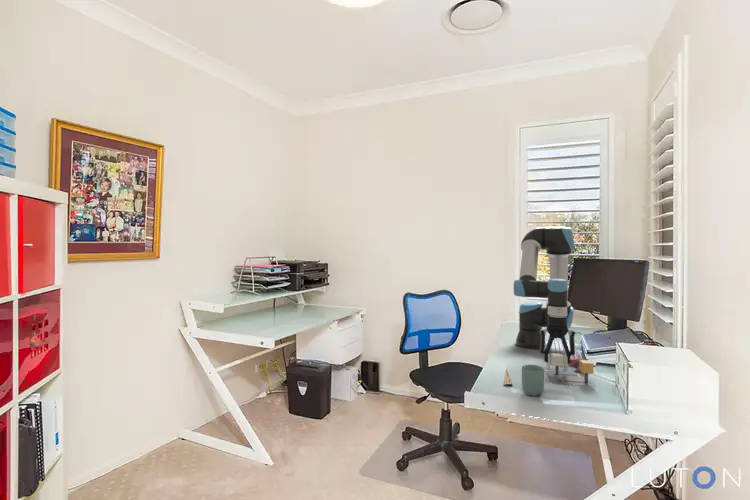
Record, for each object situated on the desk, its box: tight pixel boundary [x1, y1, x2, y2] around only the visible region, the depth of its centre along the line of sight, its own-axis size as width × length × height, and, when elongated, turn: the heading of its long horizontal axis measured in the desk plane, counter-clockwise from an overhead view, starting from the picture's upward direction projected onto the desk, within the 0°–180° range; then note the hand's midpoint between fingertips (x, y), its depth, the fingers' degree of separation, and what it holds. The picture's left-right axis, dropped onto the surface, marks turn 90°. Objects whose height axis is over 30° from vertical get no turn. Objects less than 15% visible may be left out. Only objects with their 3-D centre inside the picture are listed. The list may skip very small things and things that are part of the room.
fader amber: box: [579, 359, 595, 382], centre depth 160 cm, size 4×4×8 cm
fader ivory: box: [550, 352, 564, 374], centre depth 170 cm, size 4×4×8 cm
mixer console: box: [544, 370, 597, 387], centre depth 165 cm, size 16×16×1 cm
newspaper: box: [503, 368, 513, 386], centre depth 170 cm, size 24×7×2 cm, turn 160°
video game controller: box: [568, 357, 585, 373], centre depth 177 cm, size 10×5×7 cm, turn 169°
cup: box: [521, 364, 545, 397], centre depth 152 cm, size 8×8×10 cm
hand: (556, 370), depth 170 cm, fingers open, 6 cm apart
